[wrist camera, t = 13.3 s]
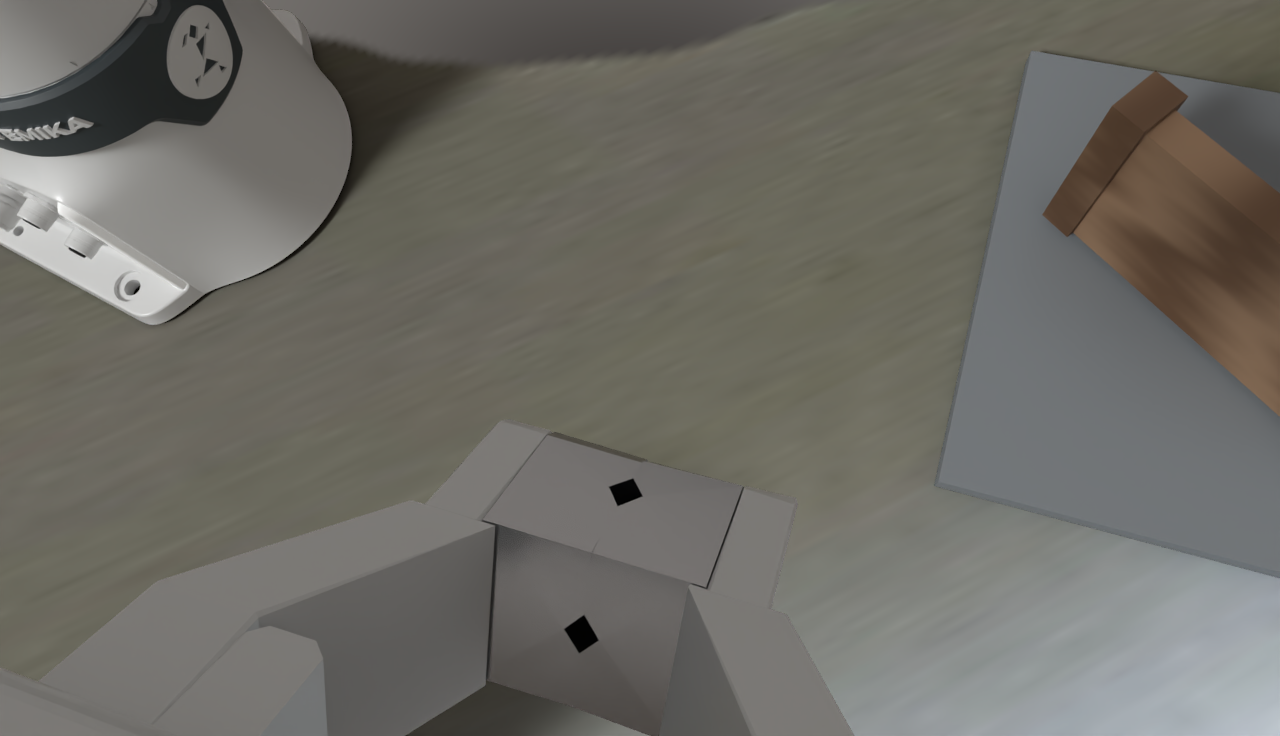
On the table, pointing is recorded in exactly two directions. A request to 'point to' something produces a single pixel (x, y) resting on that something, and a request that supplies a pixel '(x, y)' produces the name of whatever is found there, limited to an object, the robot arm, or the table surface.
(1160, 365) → the grey plate
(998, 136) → the table surface
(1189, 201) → the gate leaf
